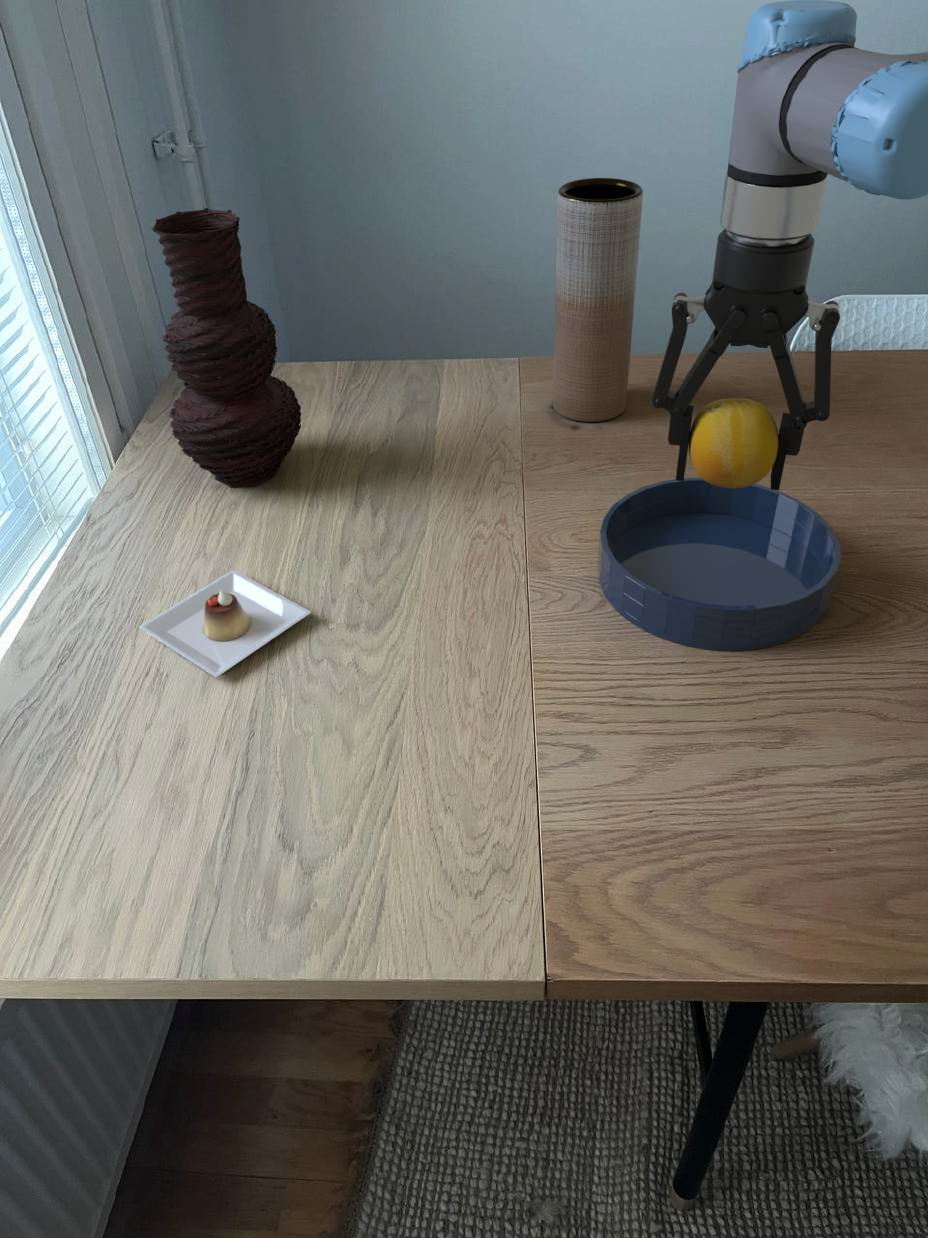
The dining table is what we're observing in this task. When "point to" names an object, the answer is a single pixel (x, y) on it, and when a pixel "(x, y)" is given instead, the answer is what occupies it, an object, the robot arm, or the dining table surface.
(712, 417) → the fruit
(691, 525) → the bowl
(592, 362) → the tall ceramic vase
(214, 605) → the dessert
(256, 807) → the dining table surface
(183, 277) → the vase
